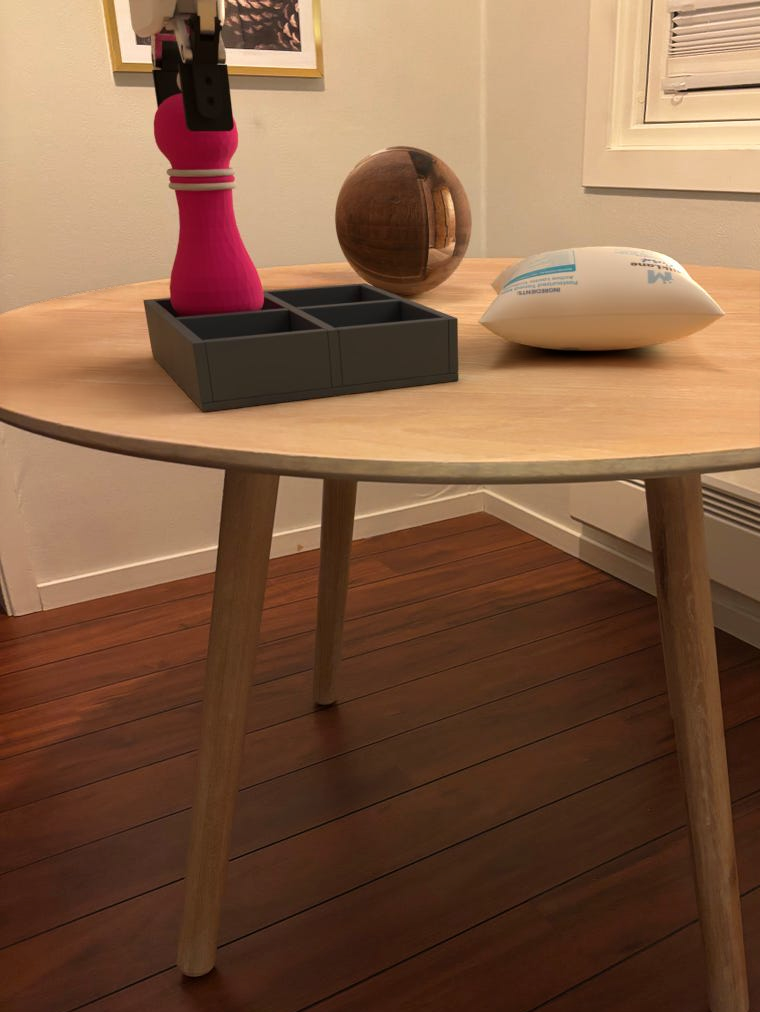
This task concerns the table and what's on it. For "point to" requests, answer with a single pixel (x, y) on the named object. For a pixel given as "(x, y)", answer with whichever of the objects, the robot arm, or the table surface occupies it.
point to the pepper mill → (205, 218)
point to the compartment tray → (304, 346)
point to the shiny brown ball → (403, 220)
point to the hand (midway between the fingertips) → (195, 130)
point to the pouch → (597, 300)
